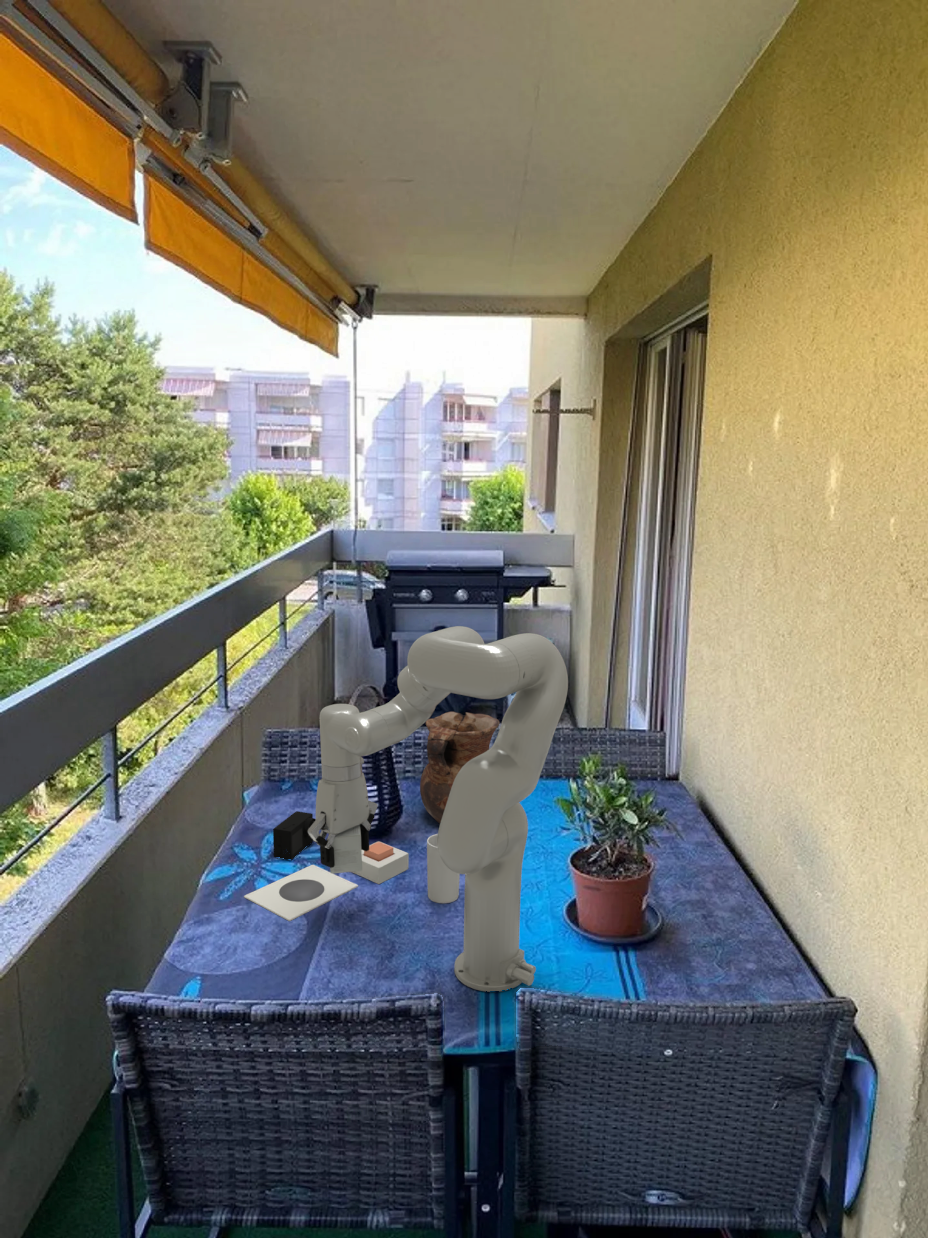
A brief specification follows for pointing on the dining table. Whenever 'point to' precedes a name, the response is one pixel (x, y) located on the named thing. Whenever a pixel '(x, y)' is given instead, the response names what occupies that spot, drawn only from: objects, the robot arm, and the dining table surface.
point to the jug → (451, 754)
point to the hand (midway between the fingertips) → (345, 857)
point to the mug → (440, 876)
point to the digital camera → (292, 835)
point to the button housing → (384, 866)
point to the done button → (379, 851)
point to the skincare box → (347, 851)
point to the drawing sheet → (300, 892)
